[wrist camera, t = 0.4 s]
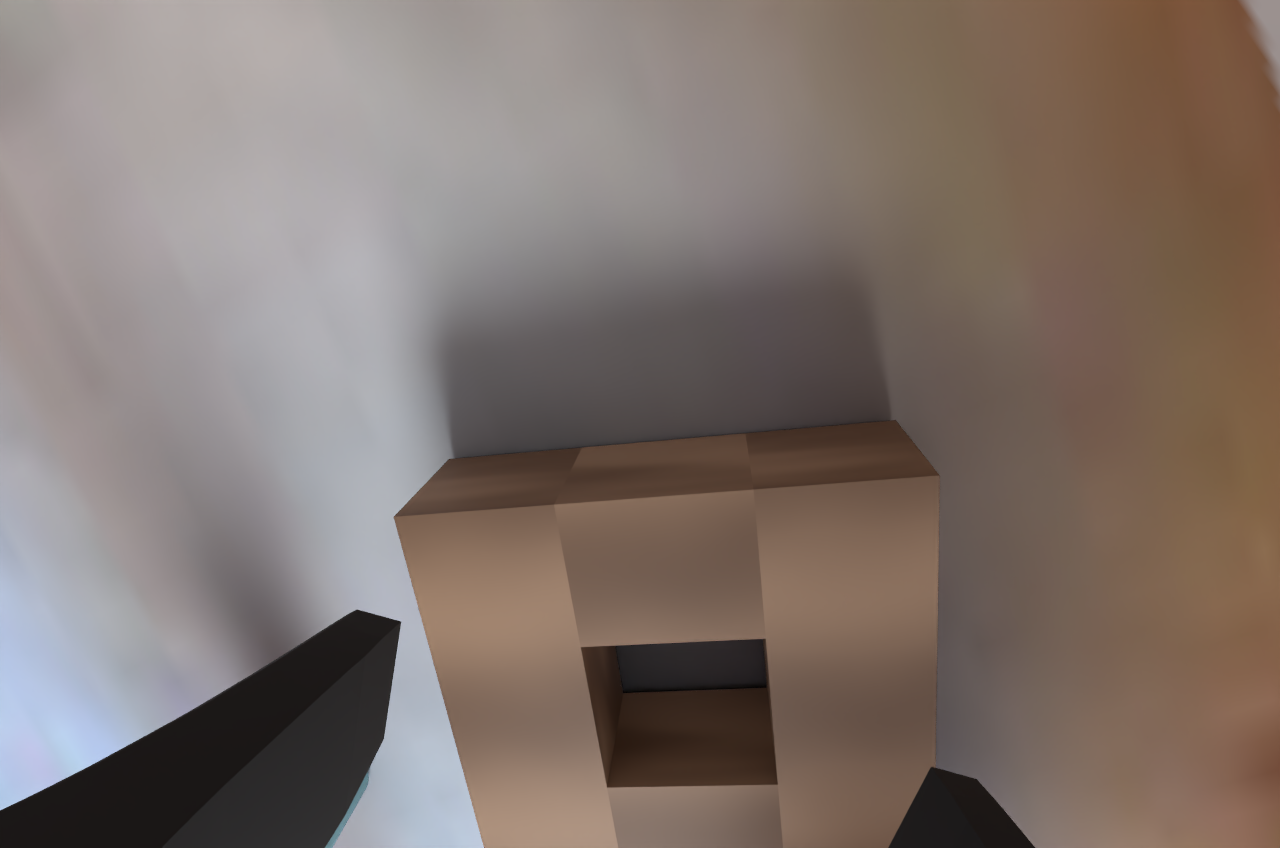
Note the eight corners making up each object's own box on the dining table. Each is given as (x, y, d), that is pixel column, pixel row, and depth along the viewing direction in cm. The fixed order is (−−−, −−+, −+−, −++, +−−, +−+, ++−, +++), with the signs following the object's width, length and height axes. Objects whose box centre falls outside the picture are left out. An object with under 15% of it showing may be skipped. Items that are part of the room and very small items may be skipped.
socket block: (898, 782, 21) (933, 893, 18) (527, 788, 23) (495, 891, 19) (895, 420, 17) (939, 475, 14) (449, 459, 19) (394, 516, 15)
